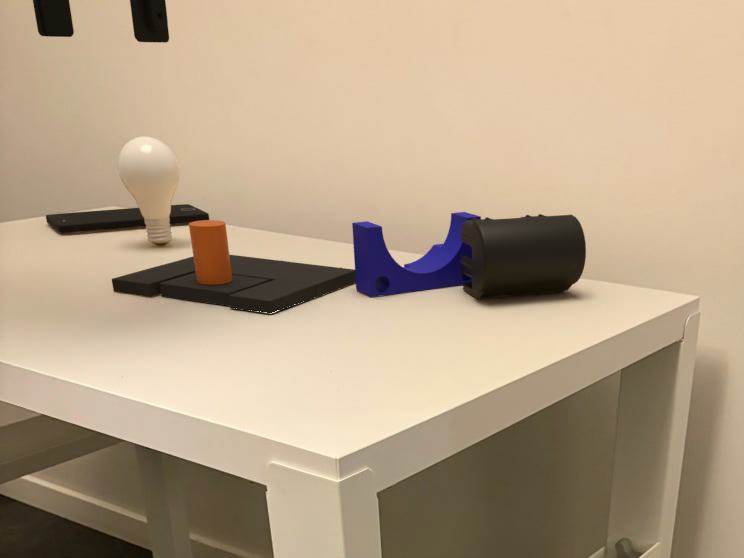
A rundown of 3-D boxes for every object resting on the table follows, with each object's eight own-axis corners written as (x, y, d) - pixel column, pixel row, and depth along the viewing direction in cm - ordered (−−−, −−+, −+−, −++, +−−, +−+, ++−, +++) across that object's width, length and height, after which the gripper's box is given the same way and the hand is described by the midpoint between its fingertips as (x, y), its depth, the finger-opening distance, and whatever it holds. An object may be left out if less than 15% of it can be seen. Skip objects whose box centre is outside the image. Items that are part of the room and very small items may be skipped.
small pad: (160, 296, 90) (149, 224, 87) (203, 283, 95) (193, 214, 92) (230, 306, 88) (221, 232, 84) (271, 292, 92) (263, 221, 89)
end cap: (484, 307, 88) (485, 226, 84) (456, 289, 93) (456, 213, 90) (584, 298, 91) (589, 220, 87) (551, 281, 97) (555, 207, 93)
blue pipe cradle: (456, 273, 99) (456, 209, 96) (480, 282, 96) (480, 216, 93) (349, 287, 94) (345, 220, 91) (370, 297, 91) (366, 227, 88)
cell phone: (211, 221, 123) (210, 213, 122) (60, 234, 115) (58, 225, 114) (190, 211, 129) (188, 203, 128) (45, 222, 121) (44, 214, 121)
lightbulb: (121, 245, 110) (102, 135, 105) (173, 238, 114) (157, 132, 108) (148, 253, 106) (129, 140, 101) (200, 246, 110) (185, 136, 104)
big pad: (113, 292, 92) (111, 278, 91) (210, 264, 102) (208, 251, 102) (271, 314, 85) (270, 300, 85) (357, 282, 96) (356, 269, 95)
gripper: (-73, -257, 68) (-16, 33, 77) (122, -273, 62) (158, 44, 71) (13, -232, 74) (56, 35, 83) (199, -245, 68) (223, 44, 77)
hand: (103, 39), depth 77 cm, fingers open, 9 cm apart
